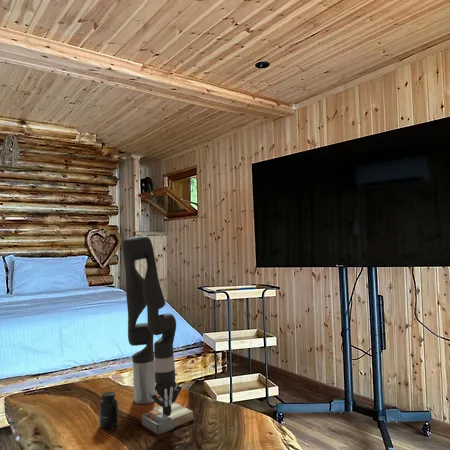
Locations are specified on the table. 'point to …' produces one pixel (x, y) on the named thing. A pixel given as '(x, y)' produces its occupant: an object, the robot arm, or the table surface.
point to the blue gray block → (161, 418)
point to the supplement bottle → (108, 410)
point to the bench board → (178, 413)
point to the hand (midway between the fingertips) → (167, 415)
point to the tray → (156, 427)
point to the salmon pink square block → (154, 415)
